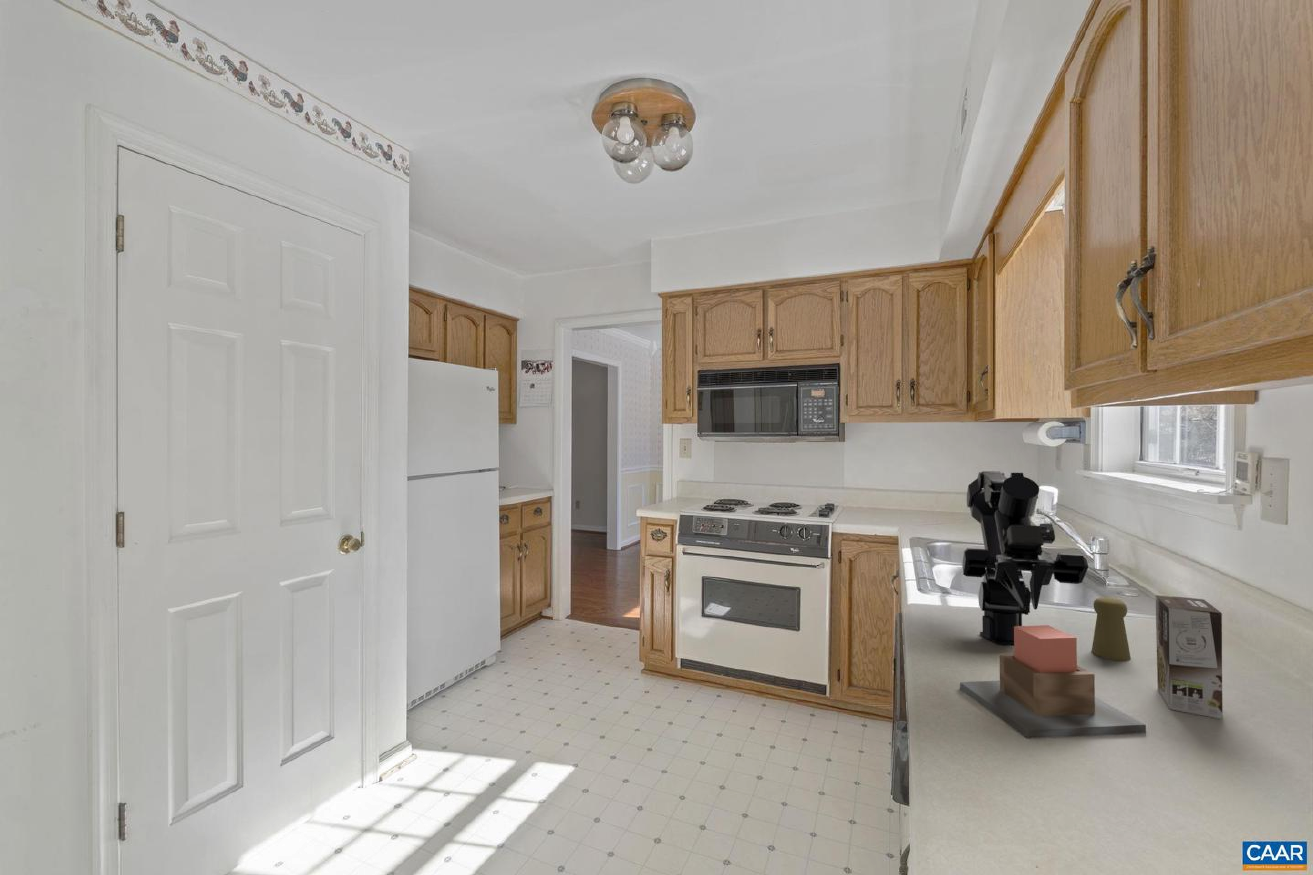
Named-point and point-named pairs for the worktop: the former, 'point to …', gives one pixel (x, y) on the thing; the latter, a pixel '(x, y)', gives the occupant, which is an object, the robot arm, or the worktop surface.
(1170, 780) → the worktop surface
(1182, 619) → the coffee box
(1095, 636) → the cork
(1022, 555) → the robot arm
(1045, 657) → the pink eraser block
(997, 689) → the stand
